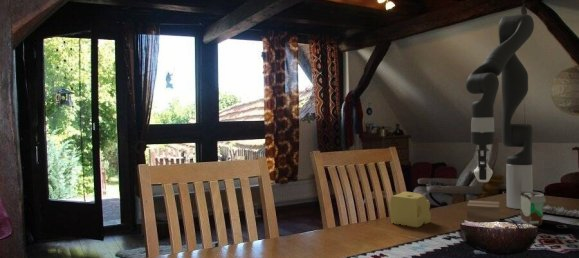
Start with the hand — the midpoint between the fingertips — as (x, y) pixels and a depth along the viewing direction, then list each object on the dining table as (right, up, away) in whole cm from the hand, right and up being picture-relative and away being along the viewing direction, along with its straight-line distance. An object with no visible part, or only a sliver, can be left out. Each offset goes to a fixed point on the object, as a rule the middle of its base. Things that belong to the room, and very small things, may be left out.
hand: (483, 178), depth 154 cm
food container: (+16, -15, -4) cm, 22 cm away
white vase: (0, -1, 0) cm, 1 cm away
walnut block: (0, -15, 0) cm, 15 cm away
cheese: (-26, -16, 0) cm, 30 cm away
